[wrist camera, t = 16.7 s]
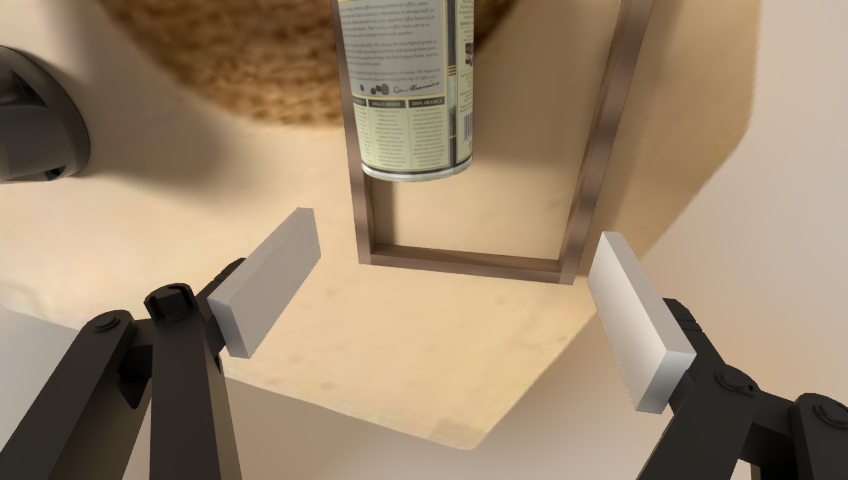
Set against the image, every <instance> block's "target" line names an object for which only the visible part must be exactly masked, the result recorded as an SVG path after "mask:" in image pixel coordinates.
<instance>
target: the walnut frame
mask: <svg viewBox="0 0 848 480" xmlns="http://www.w3.org/2000/svg"><path fill="white" fill-rule="evenodd" d="M653 1H654V0H622V3H621V7H620V11H619V15H618V19H617V23H616V28H615V32H614V36H613V40H612V44H611V48H610V52H609V56H608V60H607V64H606V68H605V72H604V76H603V80H602V84H601V88H600V92H599V97H598V101H597V105H596V109H595V113H594V117H593V121H592V125H591V129H590V133H589V137H588V141H587V145H586V149H585V153H584V157H583V161H582V166H581V170H580V174H579V178H578V182H577V186H576V190H575V194H574V198H573V202H572V206H571V210H570V214H569V218H568V222H567V226H566V230H565V235H564V239H563V243H562V247H561V251H560V255H559V259H558V261H557V260H547V259H536V258H525V257H515V256H504V255H493V254H482V253H472V252H461V251H450V250H440V249H429V248H418V247H407V246H397V245H386V244H376V241H375V227H374V213H373V200H372V186H371V176H370V175H368V174H366V173H365V172H364V170H363V169H362V159H361V151H360V145H359V138H358V131H357V125H356V119H355V111H354V105H353V99H352V92H351V86H350V79H349V72H348V66H347V59H346V52H345V46H344V39H343V33H342V26H341V19H340V12H339V5H338V0H331V4H332V14H333V23H334V33H335V42H336V51H337V61H338V70H339V80H340V89H341V99H342V108H343V117H344V127H345V136H346V146H347V155H348V165H349V174H350V184H351V193H352V202H353V212H354V221H355V231H356V240H357V250H358V259H359V264H368V265H378V266H388V267H397V268H407V269H417V270H427V271H437V272H447V273H457V274H466V275H476V276H486V277H496V278H506V279H516V280H525V281H535V282H545V283H555V284H565V285H573V282H574V279H575V275H576V272H577V268H578V265H579V261H580V258H581V254H582V251H583V247H584V243H585V240H586V236H587V233H588V229H589V226H590V222H591V219H592V215H593V212H594V208H595V205H596V201H597V198H598V194H599V191H600V187H601V184H602V180H603V177H604V173H605V170H606V166H607V163H608V159H609V156H610V152H611V149H612V145H613V142H614V138H615V135H616V131H617V127H618V124H619V120H620V117H621V113H622V110H623V106H624V103H625V99H626V96H627V92H628V89H629V85H630V82H631V78H632V75H633V71H634V68H635V64H636V61H637V57H638V54H639V50H640V47H641V43H642V40H643V36H644V33H645V29H646V26H647V22H648V19H649V15H650V11H651V8H652V4H653Z"/></svg>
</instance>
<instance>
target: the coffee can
mask: <svg viewBox="0 0 848 480" xmlns="http://www.w3.org/2000/svg"><path fill="white" fill-rule="evenodd" d="M338 5H339V12H340V19H341V26H342V33H343V39H344V46H345V52H346V59H347V66H348V72H349V79H350V86H351V92H352V99H353V105H354V111H355V119H356V125H357V131H358V138H359V145H360V151H361V159H362V169H363V170H364V172H365V173H366V174H368V175H370V176H372V177H374V178H378V179H381V180H387V181H393V182H422V181H430V180H436V179H441V178H446V177H450V176H452V175H456V174H458V173H460V172H462V171H464V170H466V169H467V168H468V167H469V166H470V165H471V163H472V161H473V157H472V115H473V44H474V0H338Z"/></svg>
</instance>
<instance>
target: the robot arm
mask: <svg viewBox="0 0 848 480" xmlns="http://www.w3.org/2000/svg"><path fill="white" fill-rule="evenodd" d="M89 150H90V147H89V139H88V134H87V131H86V128H85V125H84V123H83V121H82V118H81V116H80V114H79V113H78V111H77V109H76V107H75V106H74V104H73V103H72V101H71V100H70V98H69V97H68V96H67V94H66V93H65V92H64V91H63V89H62V88H61V87H60V86H59V85H58V84H57V83H56V82H55V81H54V80H53V79H52V78H51V77H50V76H49V75H48V74H47V73H46V72H45V71H44V70H43V69H41V68H40V67H39V66H38V65H36V64H35V63H34V62H32V61H31V60H29V59H28V58H26V57H24V56H23V55H21V54H19V53H17V52H15V51H13V50H11V49H8V48H5V47H2V46H0V184H13V183H28V182H44V181H53V180H58V179H61V178H64V177H67V176H69V175H72V174H75V173H77V172H79V171H80V170H81V169H82V168H83V167H84V166H85V165H86V163H87V161H88V157H89ZM320 258H321V252H320V246H319V241H318V235H317V229H316V223H315V217H314V211H313V209H311V208H299V207H298V208H297V209H296V210H295V211H294V212H293V213H292V214H291V215H290V216H289V217H288V218H287V219H286V220H285V221H284V222H283V223H282V224H281V225H280V226H279V227H278V228H277V229H276V230H275V231H274V232H273V233H272V234H271V235H270V236H269V237H268V238H267V239H266V240H265V241H264V242H263V243H262V244H261V245H260V246H259V247H258V248H257V249H256V250H255V251H254V252H253V253H252V254H251V255H250V256H249V257H247V258H240V259H238V260H236V261H234V262H232V263H231V264H229V265H228V266H227V267H226V268H225V269H224V270H223V271H221V273H220V274H218V275H217V276H216V277H215V278H214V280H213V281H211V282H210V283H209V284H208V285H207V286H206V287H205V288H204V289H203V290H201V291H200V292H199V293H198V294H197V295H196V296H194V294H193V292H192V289H191V288H190V286H189V285H187V284H185V283H174V284H169V285H166V286H163V287H160V288H158V289H156V290H155V291H153V292H151V293H150V294H149V295H148V296H147V297H146V298H145V301H144V305H145V307H146V308H147V310H148V312H149V314H150V316H151V318H150V319H141V320H134V319H133V317H132V315H131V314H130V312H129V311H126V310H113V311H110V312H106V313H103V314H101V315H98V316H96V317H95V318H93V319H92V320H90V321H89V322H87V323H86V325H85V326H84V327H83V328H82V329H81V331H80V332H79V334H78V335H77V337H76V338H75V340H74V341H73V343H72V344H71V346H70V348H69V349H68V350H67V352H66V354H65V355H64V356H63V358H62V360H61V361H60V363H59V364H58V366H57V367H56V369H55V370H54V372H53V373H52V375H51V376H50V378H49V379H48V381H47V382H46V384H45V385H44V387H43V388H42V390H41V392H40V393H39V395H38V396H37V398H36V399H35V401H34V402H33V404H32V405H31V407H30V408H29V410H28V411H27V413H26V415H25V416H24V418H23V419H22V420H21V422H20V423H19V425H18V427H17V428H16V430H15V431H14V433H13V434H12V436H11V437H10V439H9V440H8V442H7V443H6V445H5V447H4V448H3V449H2V451H1V452H0V480H122V478H123V475H124V472H125V470H126V466H127V464H128V461H129V458H130V455H131V453H132V449H133V447H134V444H135V442H136V439H137V436H138V433H139V430H140V427H141V425H142V422H143V419H144V416H145V413H146V411H147V408H148V405H149V402H150V399H151V397H152V400H151V438H150V475H149V480H242V476H241V470H240V465H239V459H238V453H237V447H236V442H235V436H234V430H233V424H232V418H231V413H230V407H229V401H228V395H227V389H226V384H225V378H224V372H223V366H222V360H221V358H220V355H219V352H220V351H221V350H222V349H223V347H224V346H225V345H226V347H227V350H228V352H229V355H230V356H232V357H239V358H247V359H250V358H251V356H252V355H253V353H254V352H255V351H256V349H257V348H258V346H259V345H260V343H261V342H262V341H263V339H264V338H265V336H266V335H267V333H268V332H269V331H270V329H271V328H272V326H273V325H274V323H275V322H276V321H277V319H278V318H279V316H280V315H281V313H282V312H283V311H284V309H285V308H286V306H287V305H288V303H289V302H290V300H291V299H292V298H293V296H294V295H295V293H296V292H297V290H298V289H299V288H300V286H301V285H302V283H303V282H304V280H305V279H306V278H307V276H308V275H309V273H310V272H311V270H312V269H313V268H314V266H315V265H316V263H317V262H318V260H319V259H320ZM587 284H588V286H589V289H590V292H591V294H592V297H593V300H594V302H595V305H596V307H597V310H598V313H599V315H600V318H601V321H602V323H603V326H604V329H605V331H606V334H607V337H608V339H609V342H610V345H611V347H612V350H613V353H614V355H615V358H616V361H617V363H618V366H619V369H620V371H621V374H622V376H623V379H624V382H625V384H626V387H627V390H628V393H629V395H630V398H631V401H632V403H633V406H634V409H635V411H640V412H648V413H655V414H662V412H663V410H664V409H665V407H666V406H667V404H668V402H669V405H670V406H671V409H672V411H673V413H674V416H673V418H672V419H671V421H670V422H669V424H668V426H667V427H666V429H665V430H664V432H663V434H662V436H661V438H660V439H659V441H658V443H657V445H656V446H655V448H654V450H653V451H652V453H651V455H650V457H649V458H648V460H647V462H646V463H645V465H644V467H643V468H642V470H641V472H640V473H639V475H638V477H637V478H636V480H730V479H731V476H732V473H733V471H734V468H735V465H736V463H737V460H738V459H741V460H743V461H746V462H748V463H750V465H751V480H848V407H846V406H845V405H843V404H842V403H840V402H837V401H835V400H833V399H831V398H829V397H827V396H823V395H820V394H816V393H804V394H803V395H800V396H799V397H798V398H797V399H796V400H795V402H793V401H790V400H787V399H784V398H781V397H778V396H775V395H772V394H769V393H766V392H764V391H761V390H760V388H759V387H758V385H757V383H756V382H755V381H753V380H752V379H751V378H750V377H749V376H748V375H746V374H745V373H743V372H742V371H740V370H739V369H737V368H734V367H732V366H730V365H727V364H725V362H724V361H723V359H722V358H721V357H720V355H719V354H718V352H717V351H716V349H715V348H714V346H713V345H712V343H711V342H710V340H709V339H708V338H707V336H706V335H705V333H704V332H702V329H701V327H700V326H699V325H698V323H696V320H695V319H694V317H693V316H692V314H691V313H690V311H689V310H688V309H687V308H685V307H684V306H683V305H682V304H681V303H679V302H678V301H677V300H676V299H668V298H662V297H661V296H660V294H659V293H658V291H657V289H656V288H655V286H654V284H653V283H652V281H651V280H650V278H649V276H648V275H647V273H646V272H645V270H644V269H643V267H642V265H641V264H640V262H639V260H638V259H637V257H636V256H635V254H634V252H633V251H632V249H631V248H630V246H629V244H628V243H627V241H626V239H625V238H624V236H623V235H622V233H620V232H608V231H602V234H601V237H600V241H599V244H598V247H597V250H596V253H595V257H594V260H593V263H592V266H591V270H590V273H589V276H588V279H587Z"/></svg>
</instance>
